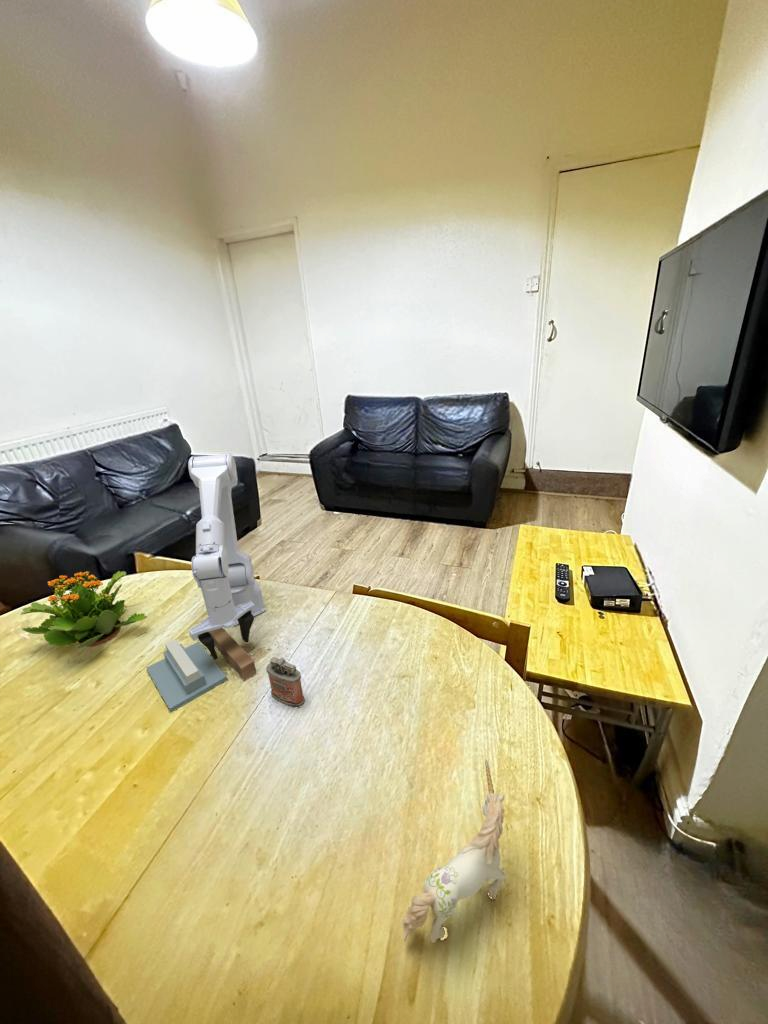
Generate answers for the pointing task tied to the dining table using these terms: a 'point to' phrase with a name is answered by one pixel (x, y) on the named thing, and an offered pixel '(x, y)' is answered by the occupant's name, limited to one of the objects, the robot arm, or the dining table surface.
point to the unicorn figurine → (462, 872)
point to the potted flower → (81, 612)
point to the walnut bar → (233, 653)
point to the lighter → (285, 682)
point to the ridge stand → (184, 674)
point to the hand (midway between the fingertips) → (230, 648)
